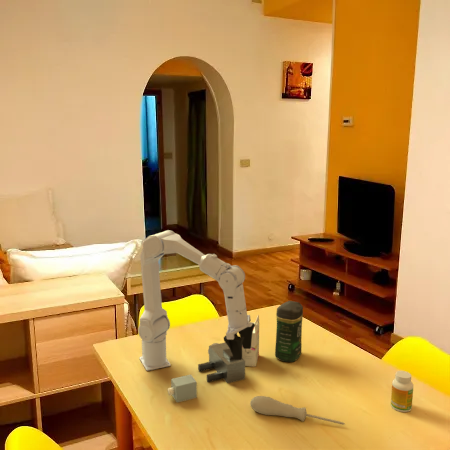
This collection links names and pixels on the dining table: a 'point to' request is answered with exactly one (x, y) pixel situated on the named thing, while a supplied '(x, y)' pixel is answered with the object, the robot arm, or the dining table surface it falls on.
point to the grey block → (183, 388)
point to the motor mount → (223, 364)
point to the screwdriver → (282, 409)
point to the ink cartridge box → (252, 347)
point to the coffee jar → (289, 331)
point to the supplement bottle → (402, 392)
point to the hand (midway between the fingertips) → (242, 353)
